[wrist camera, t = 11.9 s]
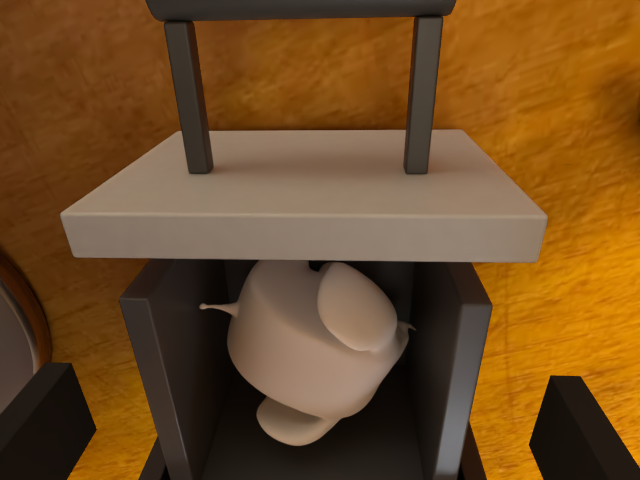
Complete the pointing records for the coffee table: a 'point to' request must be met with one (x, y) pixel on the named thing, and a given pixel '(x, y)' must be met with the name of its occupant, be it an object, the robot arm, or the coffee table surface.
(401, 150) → the drawer
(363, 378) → the elephant figurine
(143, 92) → the coffee table surface
